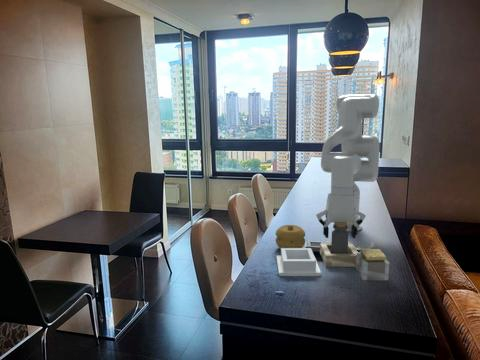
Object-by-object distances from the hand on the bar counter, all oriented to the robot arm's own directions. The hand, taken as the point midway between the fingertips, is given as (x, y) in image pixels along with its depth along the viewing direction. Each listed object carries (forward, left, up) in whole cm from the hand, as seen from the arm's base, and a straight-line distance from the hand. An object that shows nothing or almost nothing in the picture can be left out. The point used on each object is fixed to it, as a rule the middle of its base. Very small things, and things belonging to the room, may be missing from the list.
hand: (339, 236), depth 128 cm
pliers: (-10, +11, -10) cm, 18 cm away
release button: (+11, +8, -7) cm, 16 cm away
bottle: (-1, 0, -9) cm, 9 cm away
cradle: (+5, -16, -9) cm, 19 cm away
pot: (-11, -17, -9) cm, 22 cm away
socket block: (+4, +3, -9) cm, 11 cm away
